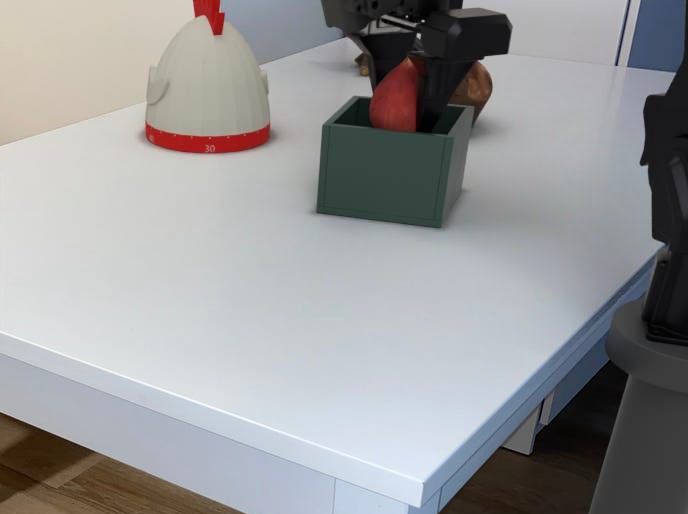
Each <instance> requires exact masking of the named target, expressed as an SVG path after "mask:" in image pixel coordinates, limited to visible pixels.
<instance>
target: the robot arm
mask: <svg viewBox="0 0 688 514" xmlns="http://www.w3.org/2000/svg"><path fill="white" fill-rule="evenodd" d="M320 3H321V8H322V12H323V17H324V22H325V26H326V27H327V28H329V29H331V28H333V27H334V28H336V29H339V30H341V32H342V33H344V35H345V37H347V39H349V40H351V41H352V42H353V43H354V44H355V45H356V47H357V48H358V49H359V50H360V51H361V52H362V53H363V54H364V56H365V60H366V64H367V68H368V72H369V74H368V77H369V83H370V87H371V93H372V94H373V93H374V91H375V89H376V87H377V86H378V84H379V83H380V82H381V81H382V80H383V78H384V77H385V76H386V75H387V74H388V73H389V72H390V71H392V70H393V69H394V68H395V67H397V66H398V65H399V64H400V63H401V62H402V61H404V60H405V59H406V58H407V56H408V58H409V59H410V61H411V62H412V64H413V65H414V67H415V68H416V70H417V72H418V82H417V102H416V132H422V133H431V132H432V130H433V128H434V126H435V125H436V123H437V121H438V120H439V118H440V116H441V115H442V113H443V111H444V110H445V108H446V106H447V105H448V103H449V101H450V100H451V98H452V97H453V95H454V93H455V92H456V90H457V89H458V87H459V86H460V84H461V83H462V81H463V80H464V78H465V77H466V76H467V74H468V73H469V71H470V70H471V69H472V67H473V66H474V64H475V63H476V61H483V60H485V58H486V57H494V56H495V57H496V56H503V55H509V52H510V47H511V46H510V45H511V41H512V35H513V30H514V26H513V23H512V22H511V20H510V19H509V17H508V16H507V14H506V13H503V12H500V11H496V10H492V9H487V8H483V7H467V8H463V7H464V0H320ZM684 5H685V6H684V7H685V8H684V28H683V29H684V32H683V52H682V58H681V62H680V64H679V67H678V69H677V71H676V72H675V75H674V77H673V79H672V81H671V83H669V86H668V89H667V90H666V92H660V93H659V92H658V93H653V94H649V95H647V96H646V98H645V101H644V104H643V109H642V116H643V118H642V119H643V126H644V127H643V128H644V142H643V150H642V152H641V157H640V159H639V166H640V167H646V166H647V179H648V180H647V181H648V186H649V189H650V192H651V196H650V197H651V202H650V204H651V207H650V208H651V209H650V210H651V238H652V239H653V240H655V241H657V242H659V243H662V244H665V246H666V248H665V247H661V248H660V249H658V250H657V251H656V253H655V257H654V260H653V264H652V268H651V271H650V275H649V278H648V282H647V285H646V289H645V293H644V295H643V298H644V299H643V303H642V310H641V319H642V320H643V322H646V335H645V338H646V339H647V340H649V341H652V342H658V343H665V344H672V345H678V346H685V347H688V0H685V4H684ZM418 34H419V35H420V37H419V39H420V41H421V44H422V47H423V50H424V51H415V52H412V49H413V46H414V43H415V40H416V37H418Z"/></svg>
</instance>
